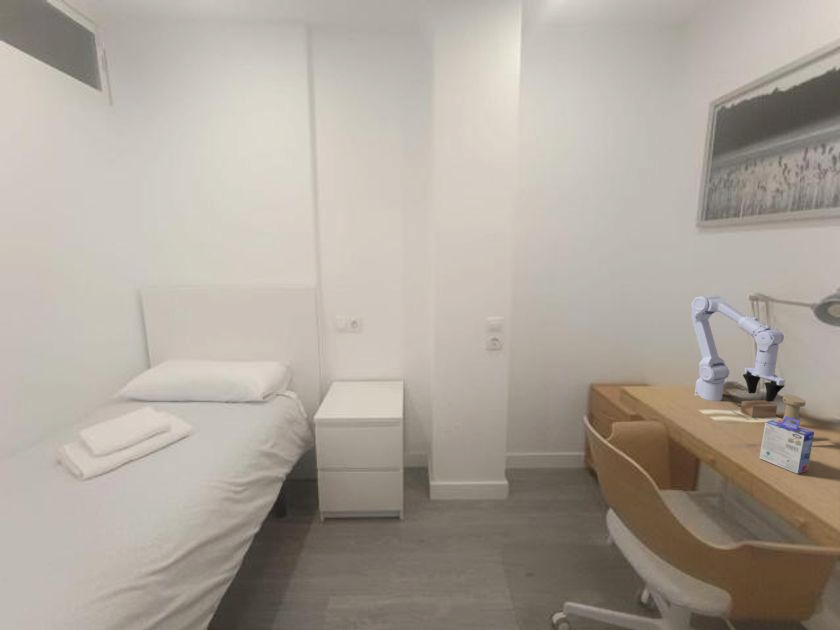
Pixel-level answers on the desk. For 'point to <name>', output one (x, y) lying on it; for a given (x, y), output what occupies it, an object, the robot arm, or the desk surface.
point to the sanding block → (758, 409)
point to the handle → (793, 407)
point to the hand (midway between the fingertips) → (760, 396)
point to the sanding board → (734, 416)
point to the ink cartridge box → (787, 445)
